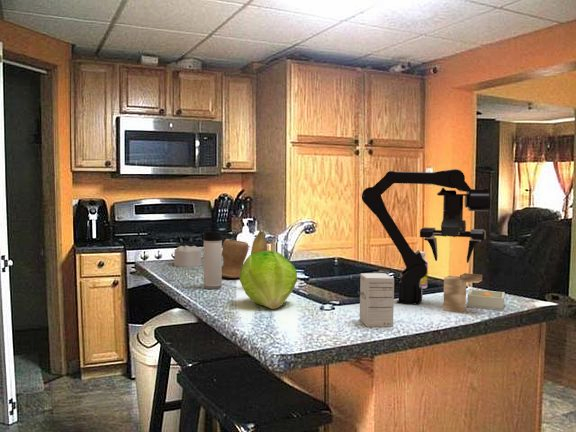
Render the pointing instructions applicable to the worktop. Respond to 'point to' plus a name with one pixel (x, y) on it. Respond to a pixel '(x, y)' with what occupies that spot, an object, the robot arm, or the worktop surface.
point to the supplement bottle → (424, 279)
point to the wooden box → (457, 291)
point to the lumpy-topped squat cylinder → (187, 256)
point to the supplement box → (376, 299)
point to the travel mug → (212, 260)
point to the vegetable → (259, 243)
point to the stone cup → (233, 257)
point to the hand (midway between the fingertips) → (451, 261)
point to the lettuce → (268, 278)
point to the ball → (487, 294)
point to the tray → (486, 300)
